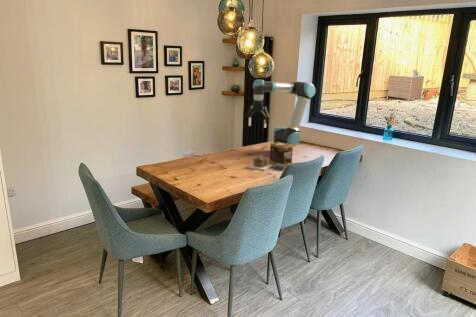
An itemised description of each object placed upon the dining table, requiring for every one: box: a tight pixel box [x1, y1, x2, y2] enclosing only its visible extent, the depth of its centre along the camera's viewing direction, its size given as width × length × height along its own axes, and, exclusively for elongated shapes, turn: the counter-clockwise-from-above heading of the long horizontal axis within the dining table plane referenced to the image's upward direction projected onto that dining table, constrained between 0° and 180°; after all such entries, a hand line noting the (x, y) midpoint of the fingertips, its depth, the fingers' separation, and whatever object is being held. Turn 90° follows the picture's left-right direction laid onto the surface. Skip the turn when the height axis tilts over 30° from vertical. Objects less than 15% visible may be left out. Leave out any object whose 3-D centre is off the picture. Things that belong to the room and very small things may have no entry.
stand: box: [273, 163, 287, 172], centre depth 279 cm, size 7×7×3 cm
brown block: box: [252, 155, 268, 168], centre depth 281 cm, size 8×8×6 cm
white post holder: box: [247, 155, 273, 172], centre depth 281 cm, size 14×14×9 cm
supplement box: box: [269, 142, 294, 166], centre depth 293 cm, size 10×15×16 cm
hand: (257, 126), depth 290 cm, fingers open, 13 cm apart
